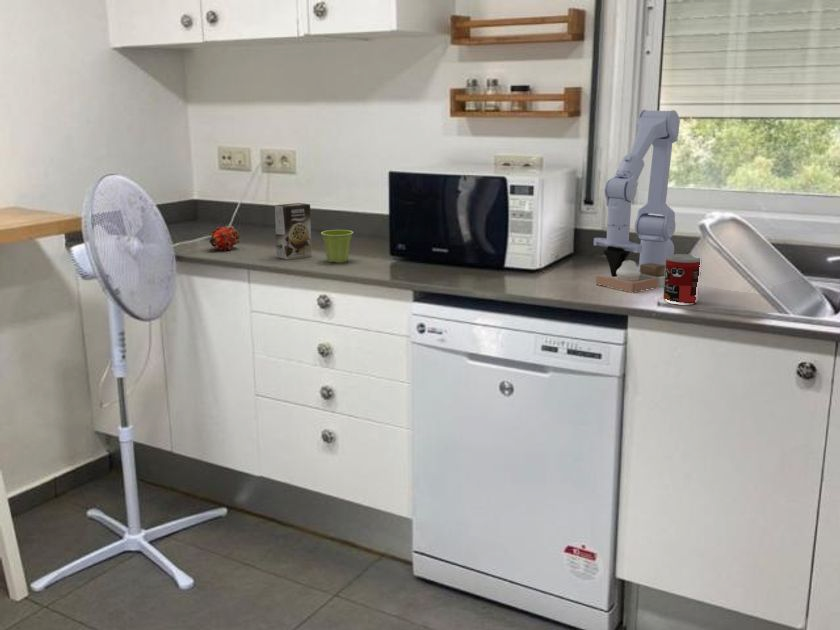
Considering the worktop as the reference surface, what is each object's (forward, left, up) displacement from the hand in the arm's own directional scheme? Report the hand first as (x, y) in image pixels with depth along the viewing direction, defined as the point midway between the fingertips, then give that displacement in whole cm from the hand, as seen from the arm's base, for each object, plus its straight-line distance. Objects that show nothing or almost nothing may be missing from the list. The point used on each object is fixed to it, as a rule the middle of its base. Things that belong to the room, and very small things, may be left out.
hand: (615, 276), depth 223 cm
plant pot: (+42, -71, -2) cm, 82 cm away
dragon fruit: (+61, -109, -2) cm, 125 cm away
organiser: (-5, +4, -2) cm, 7 cm away
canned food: (+4, +23, -2) cm, 23 cm away
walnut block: (-10, +4, -2) cm, 11 cm away
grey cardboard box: (+49, -85, -2) cm, 98 cm away
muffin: (0, +4, -2) cm, 5 cm away
